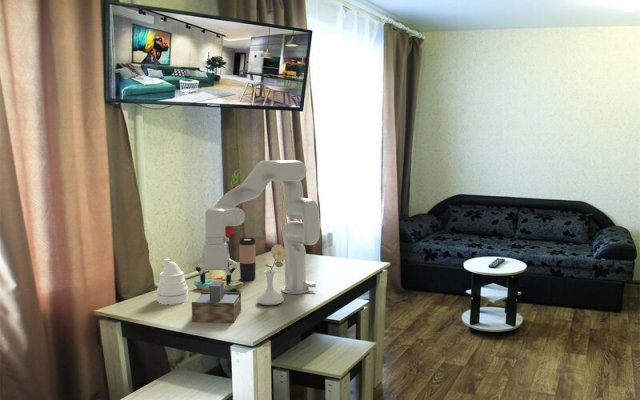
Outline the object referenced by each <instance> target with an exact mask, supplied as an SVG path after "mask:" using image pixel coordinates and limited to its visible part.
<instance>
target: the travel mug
mask: <svg viewBox="0 0 640 400" xmlns="http://www.w3.org/2000/svg"><path fill="white" fill-rule="evenodd" d="M256 263H257V262H256V239H255V238H254V237H251V236H250V237H249V236H248V237H247V236H246V237H241V238H239V273H240V281H241V282H242V281H243V282H252V281H255V280H256Z"/></svg>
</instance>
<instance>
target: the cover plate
mask: <svg viewBox="0 0 640 400" xmlns="http://www.w3.org/2000/svg"><path fill="white" fill-rule="evenodd" d="M208 292H210V294H202V295H201V294H200V295H199V297H198V298H197V299H196V300H195V301H194V302H223V303H234V304H235V303H236V301H237V300H238V298H239V295H229V294H224V281H214V282H213V283H212V284H211V285H210V286H209V291H208Z"/></svg>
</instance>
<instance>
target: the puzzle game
mask: <svg viewBox="0 0 640 400" xmlns="http://www.w3.org/2000/svg"><path fill="white" fill-rule="evenodd" d="M214 281H224V292H233V291H235V290H237V289H238V288H241V287H243V286H244V282H242V281H239V280H233V279H231V283H230V284H229V285H226V278H225V277H222V276H218V275H211V276H208V277H205V283H204V284H203V285H202V282H200V279H197V280H194V281H193V284H194V285H195V287H196V288H197V289H199V290H203V291H205V292H209V286H210V285H211V284H212V283H213V282H214Z"/></svg>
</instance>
